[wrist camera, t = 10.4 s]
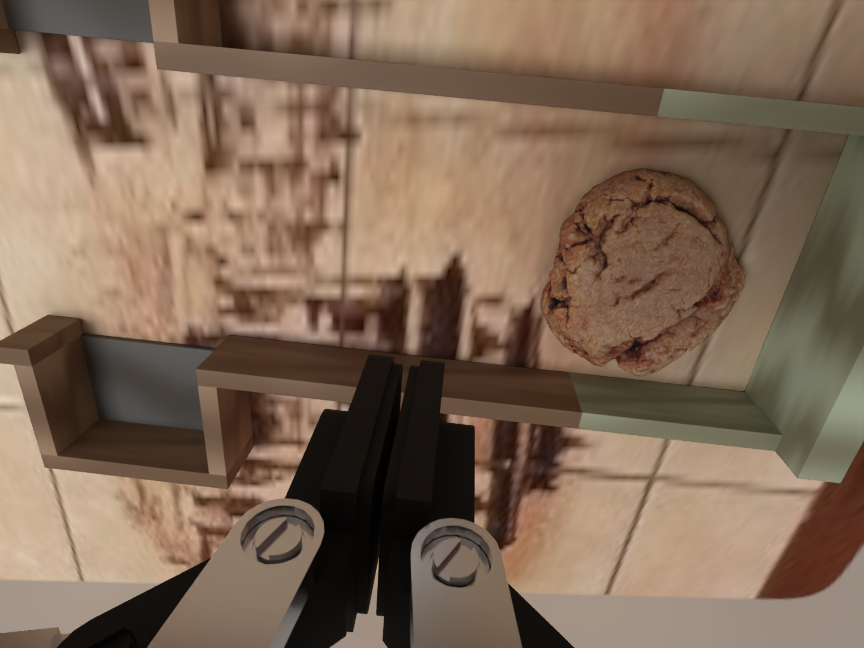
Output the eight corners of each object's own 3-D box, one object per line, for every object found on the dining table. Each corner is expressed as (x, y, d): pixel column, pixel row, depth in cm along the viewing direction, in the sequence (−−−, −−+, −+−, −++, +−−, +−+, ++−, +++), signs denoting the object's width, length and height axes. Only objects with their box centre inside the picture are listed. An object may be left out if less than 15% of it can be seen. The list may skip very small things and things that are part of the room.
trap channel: (-77, -169, 21) (-266, -255, 16) (991, -81, 20) (1183, -142, 15) (75, 425, 34) (0, 489, 29) (733, 501, 33) (784, 584, 27)
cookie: (711, 137, 24) (741, 143, 22) (743, 328, 28) (772, 354, 26) (508, 211, 26) (512, 226, 24) (564, 379, 30) (573, 408, 28)
